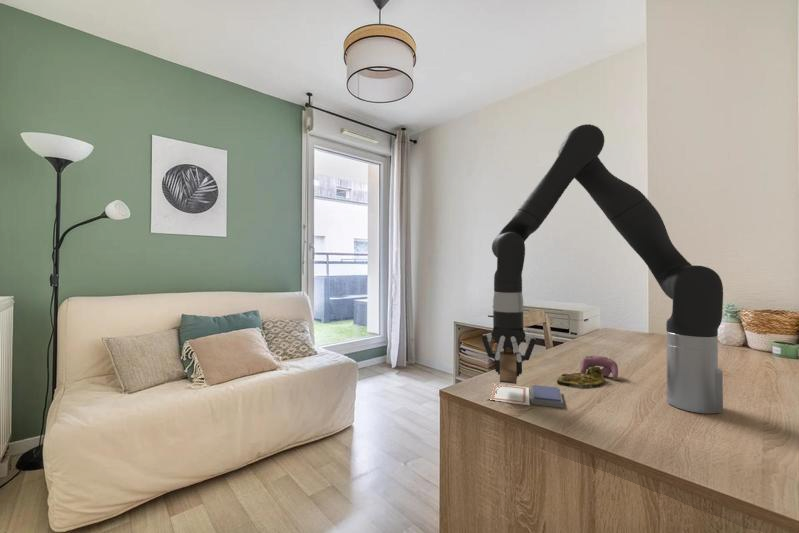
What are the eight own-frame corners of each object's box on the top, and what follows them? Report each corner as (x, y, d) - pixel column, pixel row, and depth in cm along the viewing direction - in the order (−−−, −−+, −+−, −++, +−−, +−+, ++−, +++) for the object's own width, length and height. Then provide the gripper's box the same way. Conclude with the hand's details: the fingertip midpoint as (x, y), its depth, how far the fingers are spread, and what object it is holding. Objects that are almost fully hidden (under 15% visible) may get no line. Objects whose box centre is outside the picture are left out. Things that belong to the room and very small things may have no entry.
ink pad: (559, 393, 90) (559, 386, 90) (563, 407, 80) (563, 401, 80) (531, 389, 92) (530, 383, 92) (531, 404, 83) (531, 397, 83)
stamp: (516, 376, 91) (516, 346, 91) (516, 383, 86) (516, 352, 86) (501, 375, 93) (501, 345, 93) (499, 382, 87) (499, 350, 87)
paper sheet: (529, 388, 93) (529, 387, 93) (529, 405, 82) (529, 404, 82) (491, 384, 97) (491, 383, 97) (486, 400, 85) (486, 398, 85)
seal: (571, 395, 92) (615, 388, 96) (572, 378, 91) (616, 372, 95) (547, 380, 101) (588, 374, 105) (548, 365, 100) (589, 359, 104)
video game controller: (618, 383, 101) (618, 359, 104) (617, 380, 98) (618, 356, 100) (580, 377, 107) (581, 355, 109) (579, 374, 103) (580, 351, 106)
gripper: (536, 308, 90) (537, 373, 90) (482, 306, 95) (482, 368, 95) (537, 312, 83) (538, 382, 83) (478, 309, 88) (479, 376, 88)
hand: (508, 374), depth 89 cm, fingers closed on stamp, 4 cm apart
